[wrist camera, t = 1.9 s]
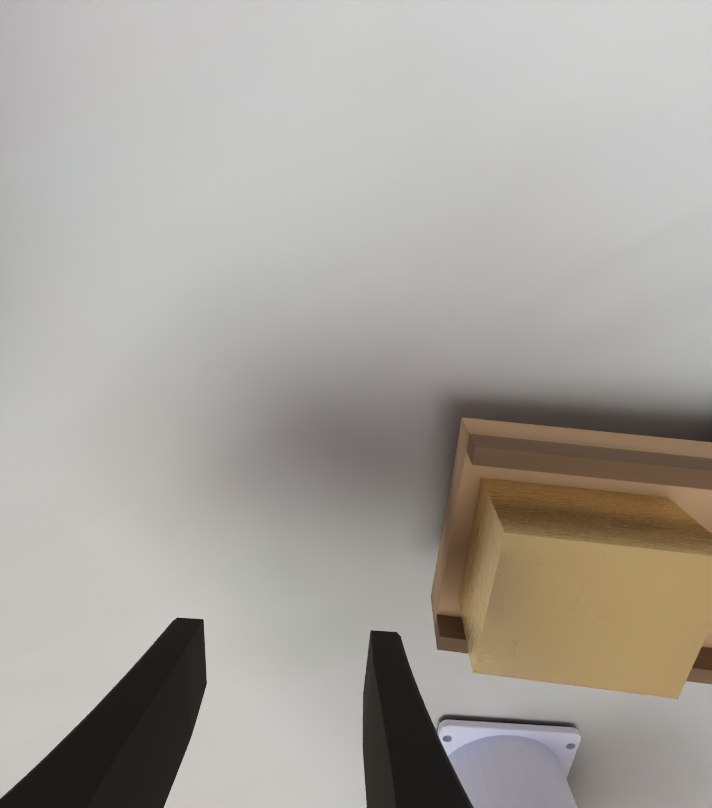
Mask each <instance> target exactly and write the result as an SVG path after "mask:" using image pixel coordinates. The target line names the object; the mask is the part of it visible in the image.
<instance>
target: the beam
mask: <svg viewBox="0 0 712 808" xmlns="http://www.w3.org/2000/svg"><path fill="white" fill-rule="evenodd" d="M481 477H482V478H491V479H501V480H510V481H519V482H529V483H538V484H548V485H557V486H566V487H576V488H585V489H595V490H604V491H613V492H623V493H632V494H641V495H651V496H660V497H669V498H670V499H671V500H672V501H673V502H674V503H676V504H677V505H678V506H679V507H680V508H682V509H683V510H684V511H685V512H686V513H687V514H689V515H690V516H691V517H692V518H693V519H695V520H696V521H697V522H698V523H699V524H700V525H702V526H703V527H704V528H705V529H706V530H708V531H709V532H710V533H711V534H712V442H704V441H694V440H684V439H674V438H664V437H654V436H644V435H634V434H624V433H614V432H604V431H594V430H584V429H574V428H564V427H554V426H544V425H534V424H524V423H514V422H504V421H494V420H484V419H474V418H464V417H462V419H461V425H460V431H459V436H458V442H457V448H456V454H455V460H454V466H453V471H452V477H451V483H450V489H449V495H448V500H447V506H446V512H445V518H444V524H443V529H442V535H441V541H440V547H439V553H438V559H437V564H436V570H435V576H434V582H433V588H432V593H431V602H432V610H433V618H434V627H435V635H436V643H437V649H438V650H446V651H454V652H462V653H469V651H468V646H467V641H466V636H465V631H464V626H463V621H462V616H461V611H460V606H459V601H458V593H459V588H460V583H461V578H462V573H463V568H464V563H465V558H466V553H467V548H468V543H469V538H470V533H471V528H472V523H473V518H474V513H475V508H476V503H477V497H478V492H479V487H480V482H481ZM686 681H691V682H699V683H707V684H712V625H711V627H710V630H709V632H708V634H707V636H706V638H705V640H704V643H703V645H702V647H701V649H700V651H699V654H698V656H697V658H696V660H695V662H694V664H693V667H692V669H691V671H690V673H689V675H688V677H687V680H686Z"/></svg>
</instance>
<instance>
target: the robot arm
mask: <svg viewBox="0 0 712 808" xmlns="http://www.w3.org/2000/svg"><path fill="white" fill-rule="evenodd" d="M206 684H207V680H206V661H205V641H204V621H203V619H190V618H176V619H175V620H174V621H172V623H171V624H170V625H169V626H168V627H167V628H166V630H165V631H164V632H163V633H162V634H161V635H160V637H159V638H158V639H157V640H156V641H155V642H154V644H153V645H152V646H151V647H150V648H149V649H148V650H147V652H146V653H145V654H144V655H143V656H142V657H141V658H140V660H139V661H138V662H137V663H136V664H135V665H134V666H133V667H132V668H131V670H130V671H129V672H128V673H127V674H126V675H125V676H124V677H123V678H122V679H121V680H120V682H119V683H118V684H117V685H116V686H115V687H114V688H113V689H112V690H111V691H110V692H109V693H108V694H107V695H106V696H105V698H104V699H103V700H102V701H101V702H100V703H99V704H98V705H97V706H96V707H95V708H94V709H93V710H92V711H91V712H90V713H89V714H88V715H87V716H86V717H85V718H84V719H83V720H82V721H81V722H80V723H79V724H78V725H77V726H76V727H75V728H74V729H73V730H72V731H71V732H70V733H69V734H68V735H67V736H66V737H65V738H64V739H63V740H62V741H61V742H60V743H59V744H58V745H57V746H56V747H55V748H54V749H53V750H52V751H51V752H50V753H49V754H48V755H47V756H46V757H45V758H44V759H43V760H42V761H41V762H40V763H39V764H38V765H37V766H36V767H35V768H33V769H32V770H31V771H30V772H29V773H28V774H27V775H26V776H25V777H24V778H23V779H22V780H21V781H20V782H18V783H17V784H16V785H15V786H14V787H13V788H12V789H11V790H10V791H9V792H8V793H6V794H5V795H4V796H3V797H2V798H1V799H0V808H164V805H165V803H166V800H167V798H168V795H169V792H170V790H171V787H172V785H173V782H174V780H175V777H176V775H177V772H178V769H179V767H180V764H181V762H182V759H183V757H184V754H185V751H186V749H187V746H188V744H189V741H190V738H191V736H192V733H193V729H194V726H195V722H196V719H197V716H198V712H199V709H200V705H201V702H202V698H203V695H204V691H205V688H206ZM580 741H581V736H580V734H579V732H578V730H577V729H576V728H573V727H560V726H544V725H528V724H512V723H496V722H480V721H464V720H443V721H442V722H441V723H440V724H439V727H438V732H436V730H435V727H434V725H433V723H432V721H431V718H430V716H429V714H428V711H427V709H426V707H425V704H424V702H423V700H422V697H421V695H420V692H419V690H418V687H417V684H416V682H415V679H414V677H413V674H412V671H411V668H410V665H409V663H408V660H407V657H406V653H405V650H404V647H403V644H402V640H401V636H400V635H399V634H398V633H397V632H386V631H371V632H370V641H369V649H368V658H367V667H366V675H365V684H364V692H363V757H364V771H365V786H366V800H367V808H578V807H577V805H576V802H575V800H574V797H573V795H572V792H571V790H570V787H569V785H568V782H567V780H566V779H567V776H568V774H569V771H570V768H571V766H572V763H573V760H574V758H575V755H576V752H577V749H578V747H579V744H580Z"/></svg>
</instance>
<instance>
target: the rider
mask: <svg viewBox="0 0 712 808" xmlns="http://www.w3.org/2000/svg"><path fill="white" fill-rule="evenodd" d="M458 601H459V606H460V611H461V616H462V621H463V626H464V631H465V636H466V641H467V646H468V651H469V656H470V661H471V666H472V671H473V673H481V674H489V675H496V676H504V677H512V678H520V679H527V680H535V681H543V682H551V683H559V684H566V685H574V686H582V687H590V688H598V689H605V690H613V691H621V692H629V693H637V694H644V695H652V696H660V697H668V698H676V699H678V697H679V695H680V693H681V691H682V688H683V686H684V684H685V682H686V680H687V677H688V675H689V673H690V671H691V669H692V667H693V664H694V662H695V660H696V658H697V656H698V654H699V651H700V649H701V647H702V645H703V643H704V640H705V638H706V636H707V634H708V632H709V630H710V627H711V625H712V534H711V533H710V532H709V531H708V530H706V529H705V528H704V527H703V526H702V525H700V524H699V523H698V522H697V521H696V520H695V519H693V518H692V517H691V516H690V515H689V514H687V513H686V512H685V511H684V510H683V509H682V508H680V507H679V506H678V505H677V504H676V503H674V502H673V501H672V500H671V499H670V498H669V497H660V496H651V495H641V494H632V493H623V492H613V491H604V490H595V489H585V488H576V487H566V486H557V485H548V484H538V483H529V482H519V481H510V480H501V479H491V478H482V477H481V482H480V487H479V492H478V497H477V503H476V508H475V513H474V518H473V523H472V528H471V533H470V538H469V543H468V548H467V553H466V558H465V563H464V568H463V573H462V578H461V583H460V588H459V593H458Z"/></svg>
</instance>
